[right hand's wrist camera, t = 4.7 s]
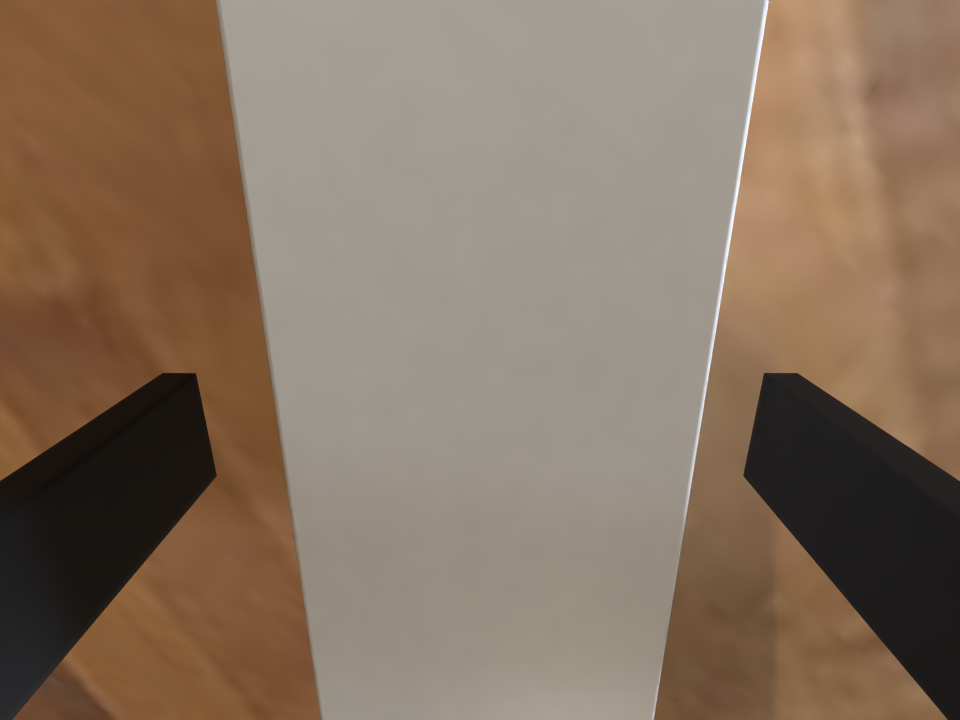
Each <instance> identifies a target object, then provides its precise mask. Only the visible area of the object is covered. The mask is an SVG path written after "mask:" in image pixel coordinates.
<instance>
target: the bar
mask: <svg viewBox="0 0 960 720" xmlns="http://www.w3.org/2000/svg"><path fill="white" fill-rule="evenodd" d="M768 2H769V0H216V7H217V13H218V20H219V27H220V34H221V41H222V48H223V54H224V61H225V68H226V75H227V82H228V89H229V95H230V102H231V109H232V116H233V123H234V129H235V136H236V143H237V150H238V157H239V164H240V170H241V177H242V184H243V191H244V198H245V205H246V211H247V218H248V225H249V232H250V239H251V245H252V252H253V259H254V266H255V273H256V280H257V286H258V293H259V300H260V307H261V314H262V321H263V327H264V334H265V341H266V348H267V355H268V361H269V368H270V375H271V382H272V389H273V396H274V402H275V409H276V416H277V423H278V430H279V436H280V443H281V450H282V457H283V464H284V471H285V477H286V484H287V491H288V498H289V505H290V512H291V518H292V525H293V532H294V539H295V546H296V552H297V559H298V566H299V573H300V580H301V587H302V593H303V600H304V607H305V614H306V621H307V628H308V634H309V641H310V648H311V655H312V662H313V668H314V675H315V682H316V689H317V696H318V703H319V709H320V716H321V720H654V714H655V708H656V702H657V695H658V689H659V683H660V677H661V670H662V664H663V658H664V652H665V645H666V639H667V633H668V627H669V620H670V614H671V608H672V602H673V595H674V589H675V583H676V577H677V570H678V564H679V558H680V552H681V545H682V539H683V533H684V527H685V520H686V514H687V508H688V502H689V495H690V489H691V483H692V477H693V470H694V464H695V458H696V452H697V445H698V439H699V433H700V427H701V420H702V414H703V408H704V402H705V395H706V389H707V383H708V377H709V370H710V364H711V358H712V352H713V345H714V339H715V333H716V327H717V320H718V314H719V308H720V302H721V295H722V289H723V283H724V277H725V270H726V264H727V258H728V252H729V245H730V239H731V233H732V227H733V221H734V214H735V208H736V202H737V196H738V189H739V183H740V177H741V171H742V164H743V158H744V152H745V146H746V139H747V133H748V127H749V121H750V114H751V108H752V102H753V96H754V89H755V83H756V77H757V71H758V64H759V58H760V52H761V46H762V39H763V33H764V27H765V21H766V14H767V8H768Z"/></svg>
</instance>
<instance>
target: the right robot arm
mask: <svg viewBox="0 0 960 720" xmlns="http://www.w3.org/2000/svg"><path fill="white" fill-rule="evenodd" d="M216 476H217V475H216V470H215V465H214V460H213V455H212V450H211V445H210V441H209V436H208V431H207V426H206V421H205V416H204V411H203V406H202V401H201V396H200V391H199V386H198V381H197V376H196V373H162V374H161V375H159V376H158V377H156V378H155V379H153V380H152V381H150V382H149V383H147V384H146V385H144V386H143V387H141V388H140V389H138V390H137V391H135V392H134V393H132V394H131V395H129V396H128V397H126V398H125V399H123V400H122V401H120V402H119V403H117V404H116V405H114V406H113V407H111V408H110V409H108V410H107V411H105V412H104V413H102V414H101V415H99V416H98V417H96V418H95V419H93V420H92V421H90V422H89V423H87V424H86V425H84V426H83V427H81V428H80V429H78V430H77V431H75V432H74V433H72V434H71V435H69V436H68V437H66V438H65V439H63V440H62V441H60V442H59V443H57V444H56V445H54V446H53V447H51V448H49V449H48V450H46V451H45V452H43V453H42V454H40V455H39V456H37V457H36V458H34V459H33V460H31V461H30V462H28V463H27V464H25V465H24V466H22V467H21V468H19V469H18V470H16V471H15V472H13V473H12V474H10V475H9V476H7V477H6V478H4V479H3V480H1V481H0V720H12V719H13V718H14V717H15V716H16V714H17V713H18V712H19V711H20V710H21V708H22V707H23V706H24V705H25V704H26V702H27V701H28V700H29V699H30V698H31V696H32V695H33V694H34V693H35V692H36V691H37V689H38V688H39V687H40V686H41V685H42V683H43V682H44V681H45V680H46V679H47V677H48V676H49V675H50V674H51V673H52V671H53V670H54V669H55V668H56V667H57V665H58V664H59V663H60V662H61V661H62V660H63V658H64V657H65V656H66V655H67V654H68V652H69V651H70V650H71V649H72V648H73V646H74V645H75V644H76V643H77V642H78V640H79V639H80V638H81V637H82V636H83V635H84V633H85V632H86V631H87V630H88V629H89V627H90V626H91V625H92V624H93V623H94V621H95V620H96V619H97V618H98V617H99V615H100V614H101V613H102V612H103V611H104V609H105V608H106V607H107V606H108V605H109V604H110V602H111V601H112V600H113V599H114V598H115V596H116V595H117V594H118V593H119V592H120V590H121V589H122V588H123V587H124V586H125V584H126V583H127V582H128V581H129V580H130V579H131V577H132V576H133V575H134V574H135V573H136V571H137V570H138V569H139V568H140V567H141V565H142V564H143V563H144V562H145V561H146V559H147V558H148V557H149V556H150V555H151V554H152V552H153V551H154V550H155V549H156V548H157V546H158V545H159V544H160V543H161V542H162V540H163V539H164V538H165V537H166V536H167V534H168V533H169V532H170V531H171V530H172V528H173V527H174V526H175V525H176V524H177V523H178V521H179V520H180V519H181V518H182V517H183V515H184V514H185V513H186V512H187V511H188V509H189V508H190V507H191V506H192V505H193V503H194V502H195V501H196V500H197V499H198V498H199V496H200V495H201V494H202V493H203V492H204V490H205V489H206V488H207V487H208V486H209V484H210V483H211V482H212V481H213V480H214V478H215V477H216ZM743 476H744V477H745V478H746V480H747V481H748V482H749V483H750V484H751V486H752V487H753V488H754V489H755V490H756V492H757V493H758V494H759V495H760V496H761V498H762V499H763V500H764V501H765V502H766V503H767V505H768V506H769V507H770V508H771V509H772V511H773V512H774V513H775V514H776V515H777V517H778V518H779V519H780V520H781V521H782V523H783V524H784V525H785V526H786V527H787V528H788V530H789V531H790V532H791V533H792V534H793V536H794V537H795V538H796V539H797V540H798V542H799V543H800V544H801V545H802V546H803V548H804V549H805V550H806V551H807V552H808V554H809V555H810V556H811V557H812V558H813V559H814V561H815V562H816V563H817V564H818V565H819V567H820V568H821V569H822V570H823V571H824V573H825V574H826V575H827V576H828V577H829V579H830V580H831V581H832V582H833V583H834V584H835V586H836V587H837V588H838V589H839V590H840V592H841V593H842V594H843V595H844V596H845V598H846V599H847V600H848V601H849V602H850V604H851V605H852V606H853V607H854V608H855V610H856V611H857V612H858V613H859V614H860V615H861V617H862V618H863V619H864V620H865V621H866V623H867V624H868V625H869V626H870V627H871V629H872V630H873V631H874V632H875V633H876V635H877V636H878V637H879V638H880V639H881V640H882V642H883V643H884V644H885V645H886V646H887V648H888V649H889V650H890V651H891V652H892V654H893V655H894V656H895V657H896V658H897V660H898V661H899V662H900V663H901V664H902V665H903V667H904V668H905V669H906V670H907V671H908V673H909V674H910V675H911V676H912V677H913V679H914V680H915V681H916V682H917V683H918V685H919V686H920V687H921V688H922V689H923V691H924V692H925V693H926V694H927V695H928V696H929V698H930V699H931V700H932V701H933V702H934V704H935V705H936V706H937V707H938V708H939V710H940V711H941V712H942V713H943V714H944V716H945V717H946V718H947V719H948V720H960V481H959V480H957V479H956V478H954V477H953V476H951V475H950V474H948V473H947V472H945V471H944V470H942V469H941V468H939V467H938V466H936V465H935V464H933V463H932V462H930V461H929V460H927V459H926V458H924V457H923V456H921V455H920V454H918V453H917V452H915V451H914V450H912V449H911V448H909V447H907V446H906V445H904V444H903V443H901V442H900V441H898V440H897V439H895V438H894V437H892V436H891V435H889V434H888V433H886V432H885V431H883V430H882V429H880V428H879V427H877V426H876V425H874V424H873V423H871V422H870V421H868V420H867V419H865V418H864V417H862V416H861V415H859V414H858V413H856V412H855V411H853V410H852V409H850V408H849V407H847V406H846V405H844V404H843V403H841V402H840V401H838V400H837V399H835V398H834V397H832V396H831V395H829V394H828V393H826V392H825V391H823V390H822V389H820V388H819V387H817V386H816V385H814V384H813V383H811V382H810V381H808V380H807V379H805V378H804V377H802V376H801V375H799V374H798V373H764V376H763V381H762V386H761V391H760V396H759V401H758V406H757V411H756V416H755V421H754V426H753V431H752V436H751V441H750V445H749V450H748V455H747V460H746V465H745V470H744V475H743Z"/></svg>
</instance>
